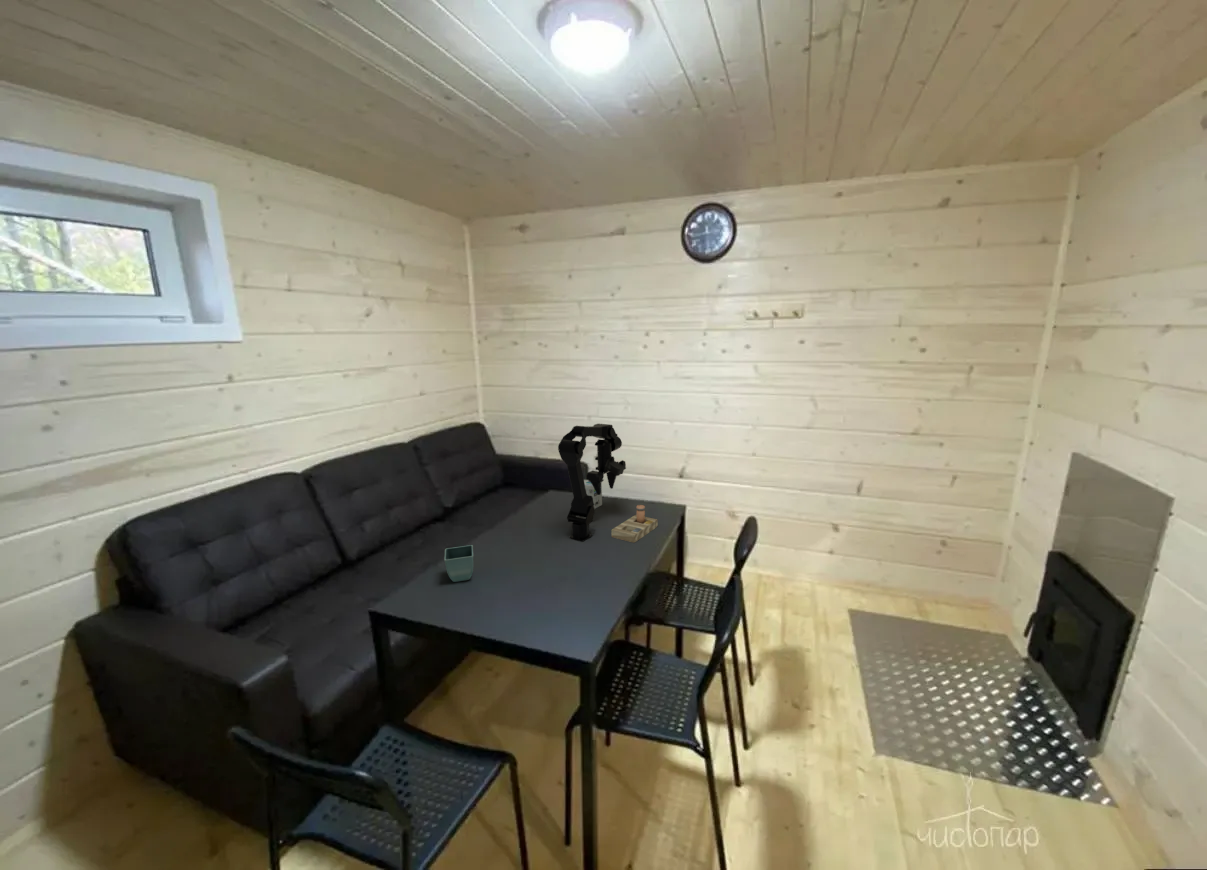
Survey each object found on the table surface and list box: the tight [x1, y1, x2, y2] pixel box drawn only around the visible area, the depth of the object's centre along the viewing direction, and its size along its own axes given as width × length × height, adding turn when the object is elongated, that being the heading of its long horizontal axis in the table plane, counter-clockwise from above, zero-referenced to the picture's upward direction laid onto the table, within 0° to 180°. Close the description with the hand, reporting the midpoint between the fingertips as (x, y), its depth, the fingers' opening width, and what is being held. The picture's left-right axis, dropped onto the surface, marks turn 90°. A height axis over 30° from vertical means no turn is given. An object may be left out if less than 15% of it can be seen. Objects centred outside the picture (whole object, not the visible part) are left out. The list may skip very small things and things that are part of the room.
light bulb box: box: [584, 479, 603, 509], centre depth 226 cm, size 11×7×11 cm, turn 58°
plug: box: [635, 504, 646, 524], centre depth 200 cm, size 3×3×9 cm
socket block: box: [611, 514, 659, 544], centre depth 197 cm, size 18×10×3 cm, turn 146°
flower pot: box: [443, 544, 474, 583], centre depth 163 cm, size 9×9×9 cm
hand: (605, 491), depth 208 cm, fingers open, 9 cm apart
